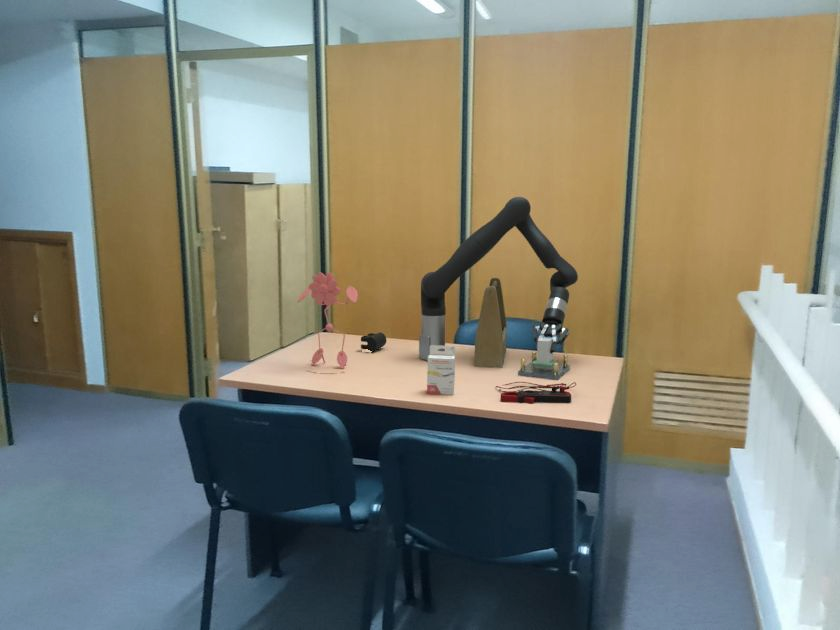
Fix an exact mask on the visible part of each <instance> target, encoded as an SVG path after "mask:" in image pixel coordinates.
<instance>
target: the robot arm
mask: <svg viewBox="0 0 840 630" xmlns="http://www.w3.org/2000/svg"><path fill="white" fill-rule="evenodd" d="M514 228H516V229H517V230H518V231H519V232H520V233H521V235H522V236H523V237H524V239H525V240H526V241H527V244H529V246H530V247H531V249H532V250H533V252H534V253H535V255H536V256H537V258H538V259H539V261H540V262H541V264H542V265H543V266H544V267H545V269H547V270H551V269H555V270H557V271H556V272H554V273H553V274H552V275H551V277H550V280H549V290H550V294H549V297H548V300H547V304H546V305H545V308H544V309H545V310H544V313H543V317H542V321H541V323H540V324H539V325H535V324H534V325H532V326H531V329H532V337H533V341H534V342H535V343H536V346H535V349H536V350H537V345H538V340H539V339H541V338H543V337H544V338H553V342H552V344H551V348H550V353H551V354H553V355H554V353H555V352H556V348H557V345H561V346H562V345H563V343H564V342H565V341H566V339H567V338H568V336H569V335H570V330H569V328H568V327H566V328H564V327H563V326H564V321H565V317H566V315H567V307H568V302H569V299H570V292H569V290H568V289H567V288H569V287H571V286H572V285H574V284H576V283H577V282H578V280H579V276H578V271H577V269H576V268H575V267H574V266H573V265H572V264H570V262H568V261H567V260H566V259H565V258H564V257H562V256H561V255H560V254H559V252H558V250H557V249H556V248H555V246H554V245H553V244H552V242H551V241H550V240H549V238H548V237H547V236H546V235H545V234H544V233H543V232H542V231H541V229H539V227H538V226H537V225H536V223H535V222H534V220H533V218H532V216H531V203H530V201H529V200H528V199H527V198H525V197H522V196H515V197H512V198H510V199H509V200H508V201H507V202H506V203H505V205H504V207H503V208H502V209H501V210H500V211H499V212H498V213H497V214H496V215H495V217H493V218H492V219H491V220H490V221H488V222H486V223H485V224H484V225H482V226H481V227H480V228H478V229H477V230H475V231H474V232H473V233H472V234H471V235H469V236H468V237H467V238H466V239H465V240H464V241H463V242H462V243H461V244H460V245H459V246H458V248H456V250H455V251H454V252H453V254H452V255H451V256H450V258H449V259H448V260H447V261H446V262H445V263H444V264H442V265H441V266H440V267H439V268H438V269H437V270H435V271H430V272H427V273H425V274H424V276H423V277H422V279H421V282H420V308H421V310H420V311H421V323H420V324H421V328H420V329H421V333H419V334H418V335H419V337H418V338H419V339H418V340H419V341H418V358H419V359H422V360H423V361H427V362H428V356H429V354H430V350H429V349H430V345H434V346H446V314H447V313H446V312H447V311H446V310H447V309H446V300H445V299H446V298H445V297H446V295H445V294H446V292H447V291H448V290H449V288H450V287H451V286H453V284H454V283H455V282H456V281H457V280H458V279H459V278H460V277H461V276H462V275H463V274H465V273H466V272H467V271H468V270H470V269H471V268H472V267H473V266H474V265H476V264H477V263H478V262H479V261H481V260H482V259H483V258H484V257H485V256H486V255H487V254H488V253H490V251H491V250H492V249H494V248H495V246H496V245H497V244H498V243H499V242H500V240H502V238H503V237H504V236H506V234H507V233H509V232H510V231H511V230H512V229H514ZM539 331H541V332H540V333H539ZM538 333H539V336H538ZM559 334H560V336H559V338H558V335H559ZM438 351H446V349H443V348H441V349H438Z"/></svg>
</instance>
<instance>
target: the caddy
mask: <svg viewBox="0 0 840 630" xmlns="http://www.w3.org/2000/svg"><path fill="white" fill-rule="evenodd" d="M505 310H506V309H505V304H504V296H503V288H502V282H501V279H500V278H499V277H492V278H491V279H490V281H489V286H486V287H485V289H484V292H483V296H482V303H481V307H480V313H479V317H478V322H477V323H478V324H477V328H476V332H475V333H476V334H475V339H474V367H475V366H478V367H479V368H494V367H500V368H499V369H502V368H503V366H504V360H505V358H506V351H507V335H508V326H507V324H508V323H507V318H506V317H507V316H506V311H505Z"/></svg>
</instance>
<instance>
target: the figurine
mask: <svg viewBox="0 0 840 630" xmlns="http://www.w3.org/2000/svg"><path fill="white" fill-rule="evenodd" d="M312 280H313V282H311V283H310V284H309V285H308V288H306V289H305V290H303V292H302V293H301V294H300V295H299V297H298V299H297V301H296V302H297V304H298V303H300V302H302V300H304V299H305V298H306V297H307V296H308V294H309V293H310V292H311V294H310V297H311V298H313V299H315V302H316V305H318V306H325V305H326V306H327V307H325V309H324V310H323V312H324V315H325V318H326V319H325V320H326V321H327V324H325V327H324V328H323V329H321V330H319V331H318V332H317V333H318V334H317V335H318V345H319V346H318V349H317V350H315V352H314V353H313V355H312V357H311V360H309V362H311V366H314V365H315V364H317V363H318V362H319V361H320V360H322V361H323V364H326V360H325V358H324V349H323V348H322V347H321V341H320V339H321V338H320V333H321V332H323V331H325V330H326V331H329V332H331V331H334V332H337V333H339V334H340V335H343V340H342V347H341V350H340V351H338V353H337V356H336V362H337V364H338V365H339V367H340V368H341V369H344V368H345V367H346V366H347V362H348V355H347V353H346V352H345V351H344V345H345V339H346V334H345V333H343V332H341V331H339V330H337V329H335V328H334V326H333V324H332V323H330V322H329V318H328V314H327V310H328V309H329V308H330V307H331V306H332V305H333V304H338V305H342V306H348V303H349V301H351V302H352V303H355V304H356V303H357V301H358V298H359V296H358V295H359V293H358V291H357V289H356V288H355V287H354V286H351V285H348V286H347V288H346V302H345V303H344V302H339V301H338V298H337V296H338V295H340V294H341V293H342V290H341V288H340V287H338V286H337V285H338V281H337V280H336V279H334V276H333V273H332V272H328V273H327V274H326V275H325V274H324V273H323V272H321V271H319V272H318V274H313V275H312ZM305 371H306V372H308V373H309V372H310V373H311V371H309V370H305ZM312 373H313V374H316V372H314V371H312ZM343 373H345V372H344V371H343V372H342V371H341V374H343ZM321 374H323V375H324V374H327V375H334V374H336V372H333V373H332V372H328V373H327V372H325V373H324V372H321Z"/></svg>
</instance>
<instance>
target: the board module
mask: <svg viewBox="0 0 840 630" xmlns="http://www.w3.org/2000/svg"><path fill="white" fill-rule="evenodd" d="M552 342H553V337H546V338H544V337H543V338H541V339H539V340H538V345H537V344H536V345H537V349H536V352H537V358H536V360H535V361H534V362H532V361H531V362H532V365H531V366H537V367H546V368H552V367H553V366H554V362H557V363H558V364H559V362H558V361H559V360H558V359H555V358H554V359H553V357H554V356H553V355H554V353H553V354H551V353H550V348H551V344H552Z"/></svg>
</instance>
